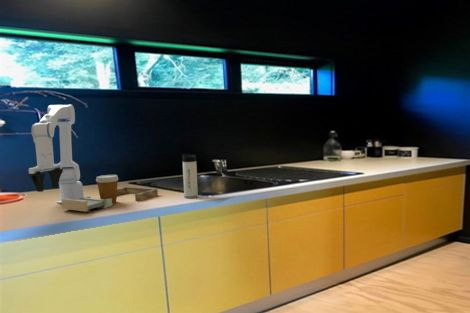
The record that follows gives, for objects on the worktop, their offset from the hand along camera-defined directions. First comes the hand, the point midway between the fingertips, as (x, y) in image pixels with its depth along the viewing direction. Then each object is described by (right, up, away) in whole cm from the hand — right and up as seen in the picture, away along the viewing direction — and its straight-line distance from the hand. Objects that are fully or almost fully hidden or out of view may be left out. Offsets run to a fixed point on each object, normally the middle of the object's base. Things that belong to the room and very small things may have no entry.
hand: (47, 189), depth 136 cm
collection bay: (+22, -7, +32) cm, 40 cm away
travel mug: (+52, -6, +28) cm, 59 cm away
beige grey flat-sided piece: (+11, -9, +11) cm, 18 cm away
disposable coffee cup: (+16, -8, +21) cm, 28 cm away
